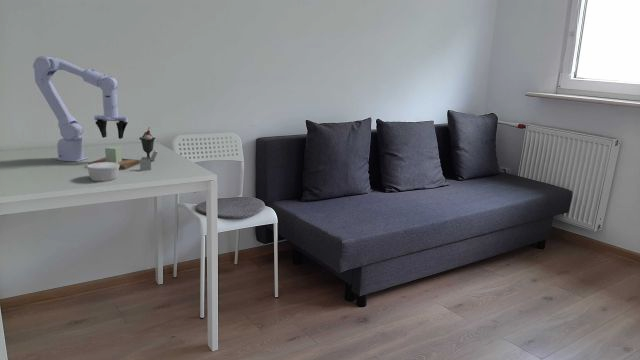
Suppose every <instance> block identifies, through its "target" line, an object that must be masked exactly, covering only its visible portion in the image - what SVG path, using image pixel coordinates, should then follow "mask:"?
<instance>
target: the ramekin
mask: <svg viewBox="0 0 640 360" xmlns="http://www.w3.org/2000/svg"><path fill="white" fill-rule="evenodd" d="M119 167H120V165H119V164H118V163H114V162H100V163H93V164H89V165H86V169H87V171H88V175H89V178H90V179H91V181H95V182H108V181H109V182H110V181H113V180H116V179H117V178H118V177H119V172H120V169H119Z"/></svg>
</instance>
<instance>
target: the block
mask: <svg viewBox="0 0 640 360" xmlns="http://www.w3.org/2000/svg"><path fill="white" fill-rule="evenodd" d="M104 151H105V152H104V153H105V157H106V162H114V163H118V162H120V161H122V159H123V155H122V153H123V152H122V146H115V145H114V146H113V145H111V146H107V147H105V148H104Z"/></svg>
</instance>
